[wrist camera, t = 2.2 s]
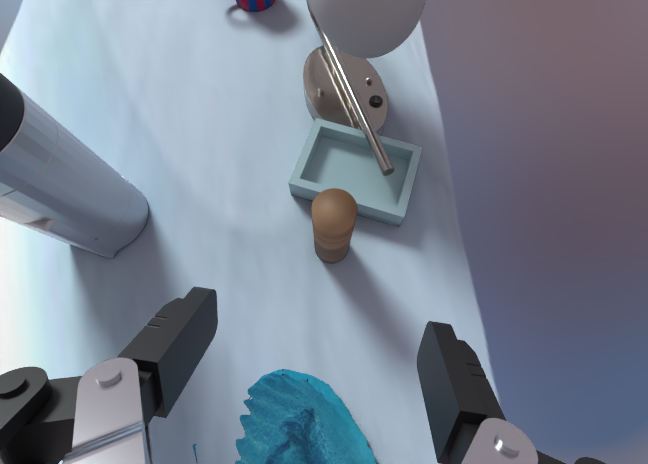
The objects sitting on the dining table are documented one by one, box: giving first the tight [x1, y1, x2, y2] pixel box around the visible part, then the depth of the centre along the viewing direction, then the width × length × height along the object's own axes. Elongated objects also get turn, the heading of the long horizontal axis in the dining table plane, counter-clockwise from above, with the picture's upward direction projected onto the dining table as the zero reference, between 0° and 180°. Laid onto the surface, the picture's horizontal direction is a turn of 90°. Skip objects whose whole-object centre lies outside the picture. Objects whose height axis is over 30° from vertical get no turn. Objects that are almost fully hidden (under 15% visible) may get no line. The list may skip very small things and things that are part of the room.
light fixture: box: [303, 0, 426, 176], centre depth 36 cm, size 11×22×34 cm
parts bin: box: [289, 118, 423, 227], centre depth 39 cm, size 10×14×3 cm
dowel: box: [311, 188, 358, 263], centre depth 32 cm, size 4×4×11 cm
